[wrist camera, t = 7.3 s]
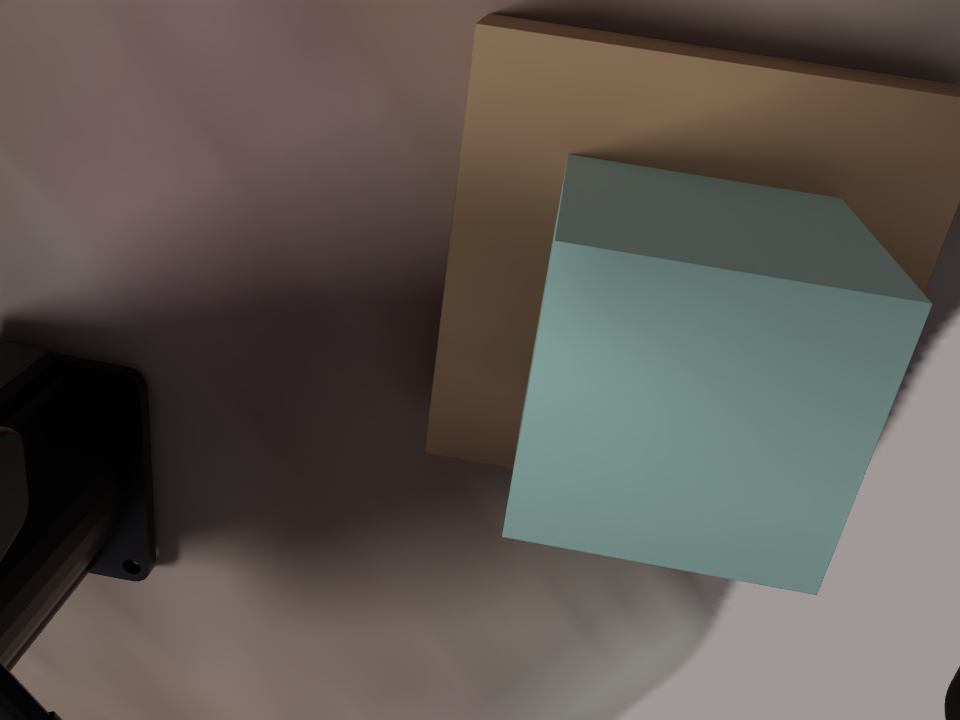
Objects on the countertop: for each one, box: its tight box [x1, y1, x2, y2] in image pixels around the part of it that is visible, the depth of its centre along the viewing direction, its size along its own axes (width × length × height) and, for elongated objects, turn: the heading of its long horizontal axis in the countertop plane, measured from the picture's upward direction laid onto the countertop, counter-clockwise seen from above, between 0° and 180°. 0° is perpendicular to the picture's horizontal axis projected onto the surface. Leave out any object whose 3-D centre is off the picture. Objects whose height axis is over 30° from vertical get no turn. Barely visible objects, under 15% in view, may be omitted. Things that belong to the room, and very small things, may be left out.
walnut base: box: [425, 13, 960, 469], centre depth 18 cm, size 9×9×2 cm
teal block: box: [502, 154, 932, 595], centre depth 15 cm, size 5×5×5 cm
